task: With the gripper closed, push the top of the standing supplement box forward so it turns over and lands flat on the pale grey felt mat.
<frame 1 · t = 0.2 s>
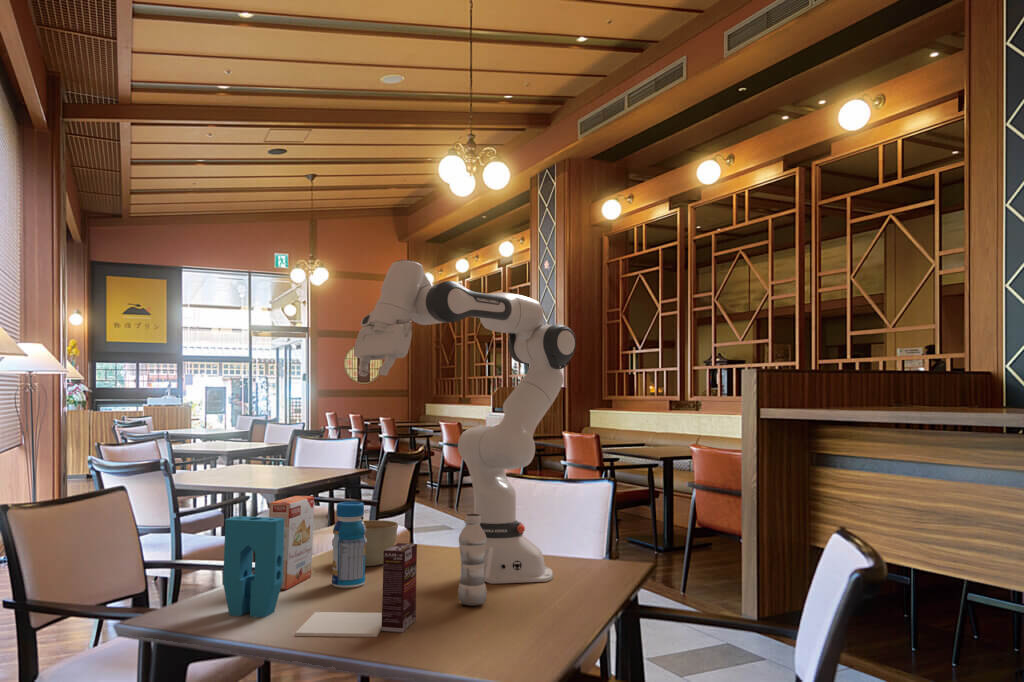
hand: (372, 375, 173), 52 cm above the table, tool tilted 20°, fingers open, 8 cm apart
felt mat: (344, 625, 150), on the table
planter bowl: (368, 564, 207), on the table
beverage bottle: (348, 585, 183), on the table
block: (251, 614, 158), on the table
plastic bottle: (472, 605, 165), on the table
cracker box: (289, 583, 184), on the table
supplement box: (399, 627, 150), on the table
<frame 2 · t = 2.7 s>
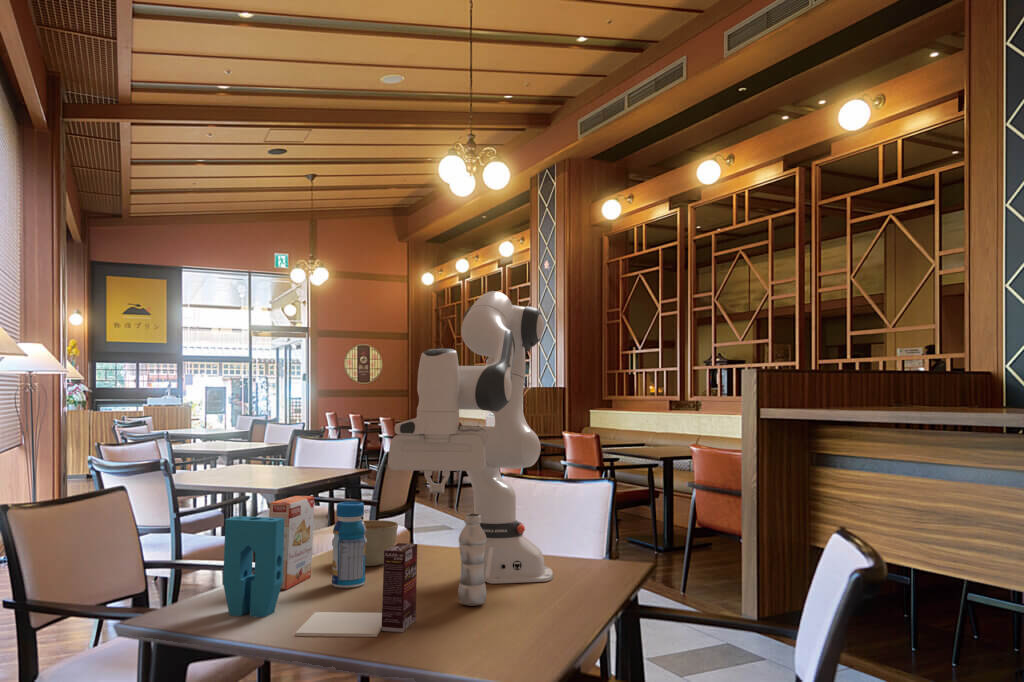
hand: (436, 492, 152), 27 cm above the table, tool pointing down, fingers closed
nothing on the table moved.
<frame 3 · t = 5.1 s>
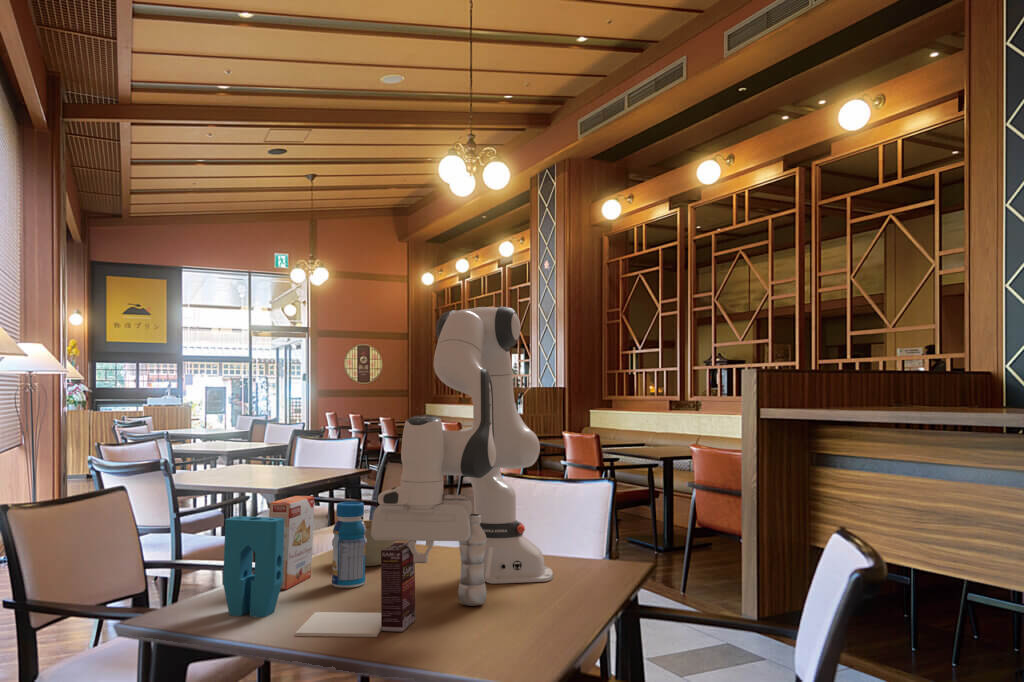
hand: (420, 562, 151), 13 cm above the table, tool pointing down, fingers closed
supplement box: (399, 626, 150), on the table, touching gripper
everything else where it was.
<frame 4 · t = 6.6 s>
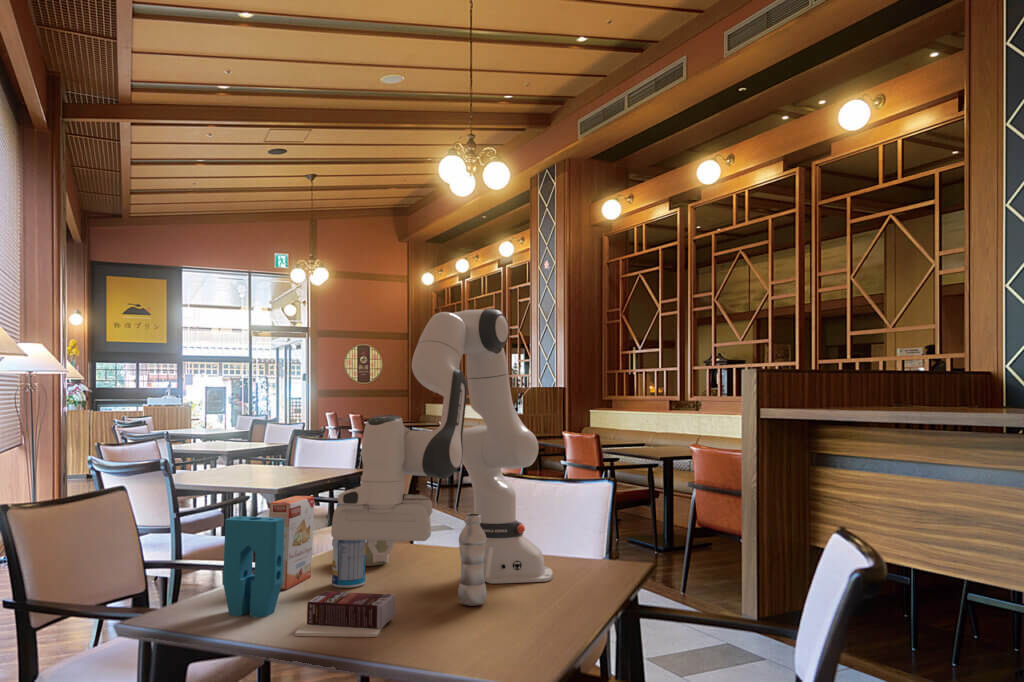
hand: (381, 562, 151), 13 cm above the table, tool pointing down, fingers closed
supplement box: (389, 610, 150), point 3 cm above the table, touching felt mat
everything else where it was.
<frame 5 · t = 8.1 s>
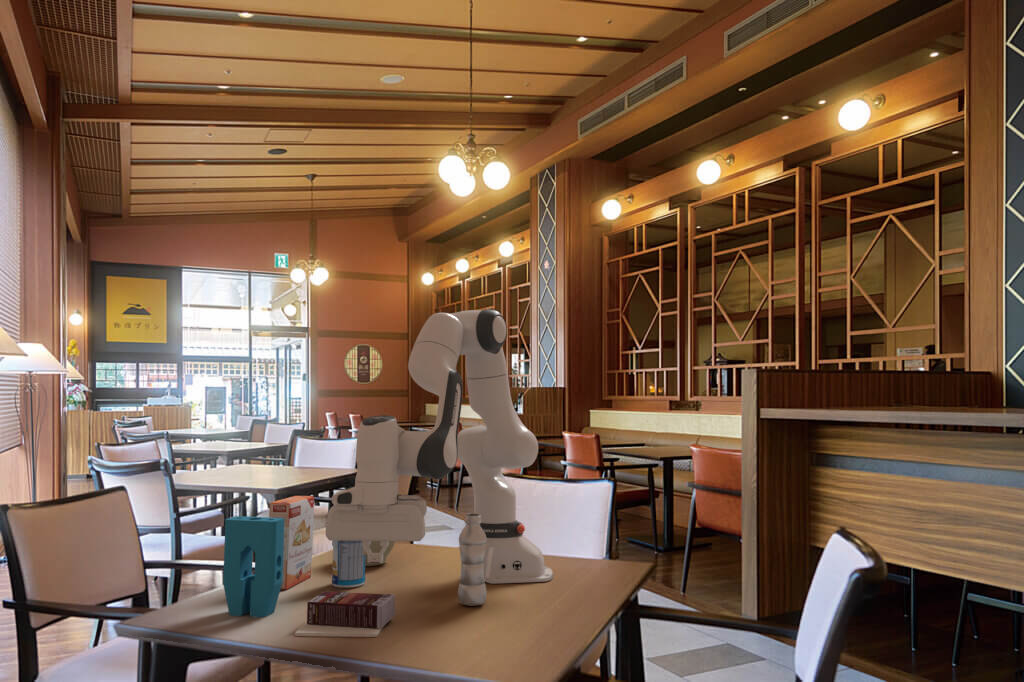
hand: (375, 562, 151), 13 cm above the table, tool pointing down, fingers closed
nothing on the table moved.
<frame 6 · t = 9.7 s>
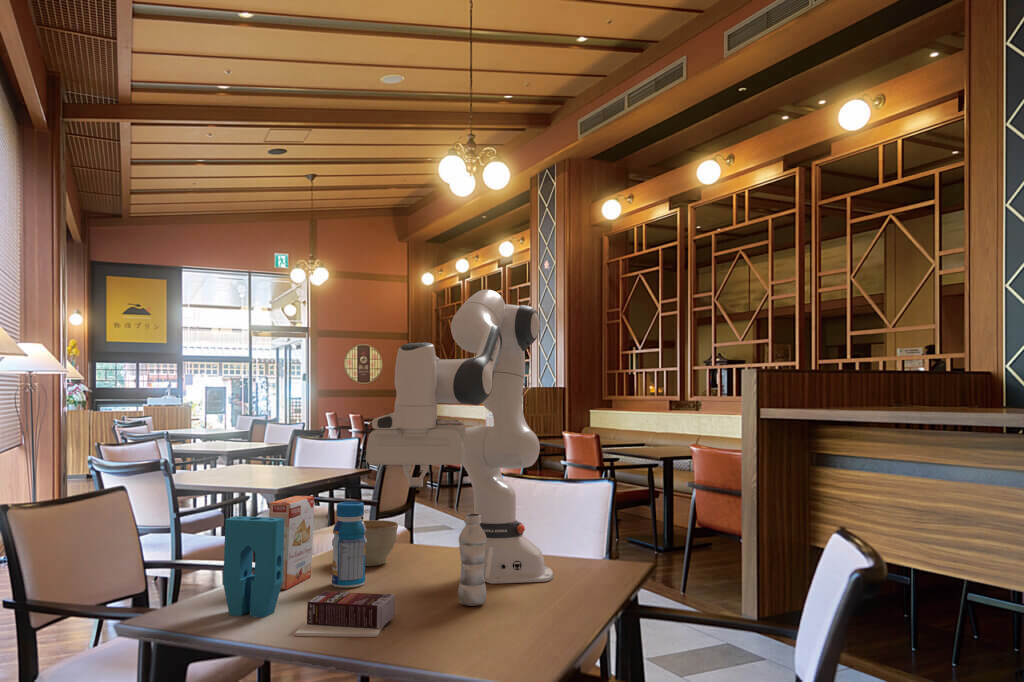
hand: (415, 486, 152), 28 cm above the table, tool pointing down, fingers closed
nothing on the table moved.
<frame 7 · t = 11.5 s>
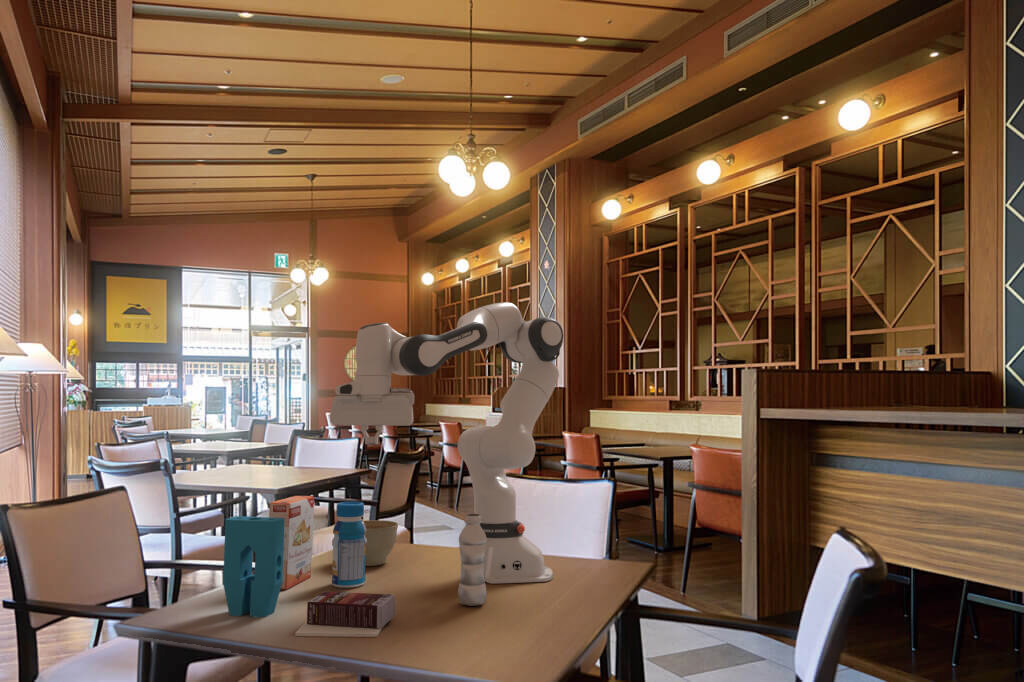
hand: (371, 444, 180), 35 cm above the table, tool pointing down, fingers closed
nothing on the table moved.
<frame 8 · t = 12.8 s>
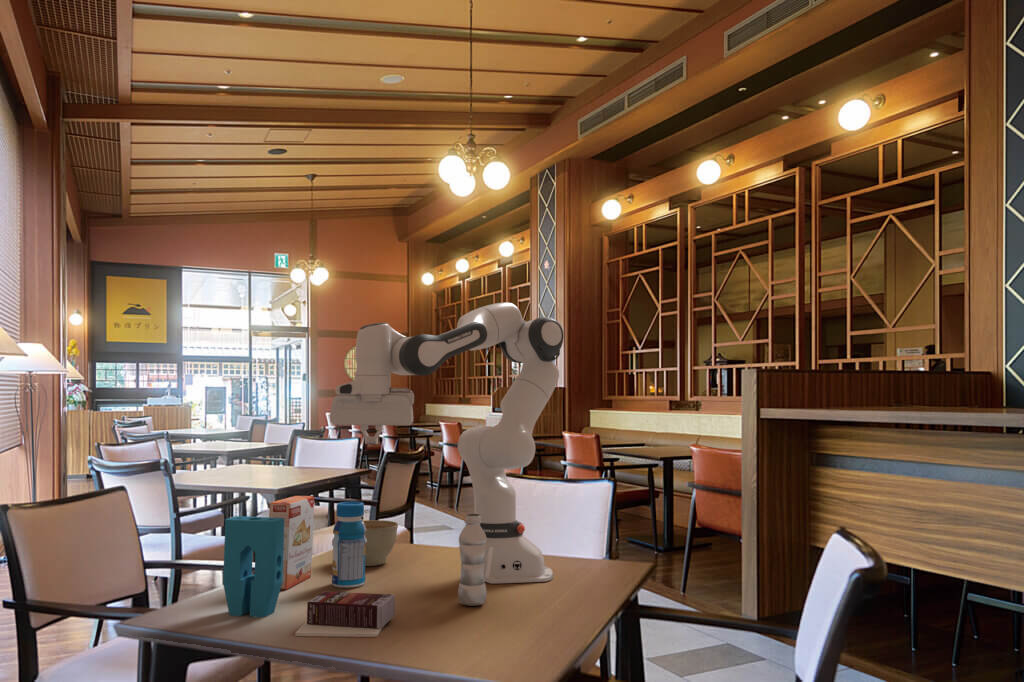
hand: (371, 444, 181), 35 cm above the table, tool pointing down, fingers closed
nothing on the table moved.
at the end: supplement box tilted 91°; supplement box inside the target area on the felt mat (6.2 cm from its centre), point 3.1 cm above the felt mat's base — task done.
